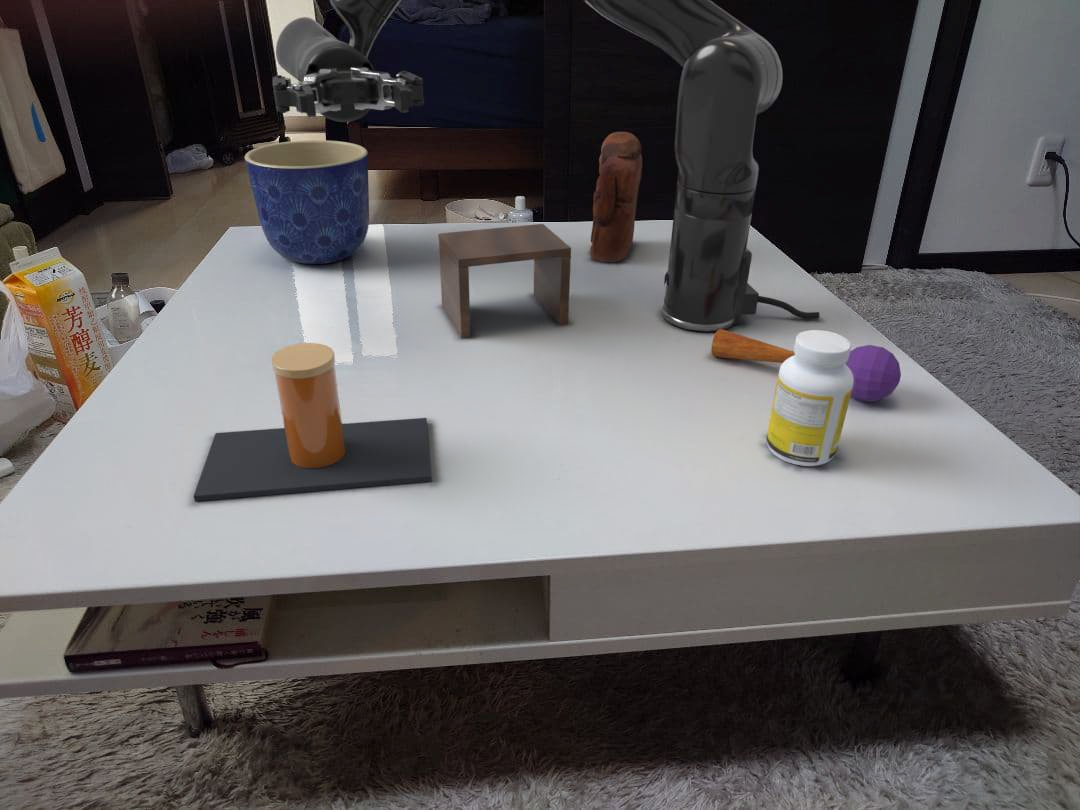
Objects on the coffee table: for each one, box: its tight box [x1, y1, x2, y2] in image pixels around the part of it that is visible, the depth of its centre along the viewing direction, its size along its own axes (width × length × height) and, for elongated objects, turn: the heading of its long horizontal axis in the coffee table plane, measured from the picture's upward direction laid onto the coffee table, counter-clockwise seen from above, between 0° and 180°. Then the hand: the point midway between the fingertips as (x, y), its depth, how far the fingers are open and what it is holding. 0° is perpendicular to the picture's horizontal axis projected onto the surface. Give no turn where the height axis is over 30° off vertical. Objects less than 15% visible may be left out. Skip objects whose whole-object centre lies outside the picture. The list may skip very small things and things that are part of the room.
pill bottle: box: [765, 329, 854, 467], centre depth 71 cm, size 6×6×12 cm
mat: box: [193, 417, 433, 502], centre depth 71 cm, size 20×10×1 cm, turn 100°
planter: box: [244, 139, 370, 265], centre depth 114 cm, size 17×17×15 cm
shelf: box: [438, 223, 572, 339], centre depth 97 cm, size 14×10×10 cm
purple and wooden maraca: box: [711, 329, 902, 403], centre depth 85 cm, size 6×6×20 cm
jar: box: [270, 342, 346, 468], centre depth 69 cm, size 5×5×10 cm
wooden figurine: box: [589, 131, 643, 263], centre depth 117 cm, size 12×6×18 cm, turn 165°
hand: (358, 102), depth 71 cm, fingers open, 8 cm apart
